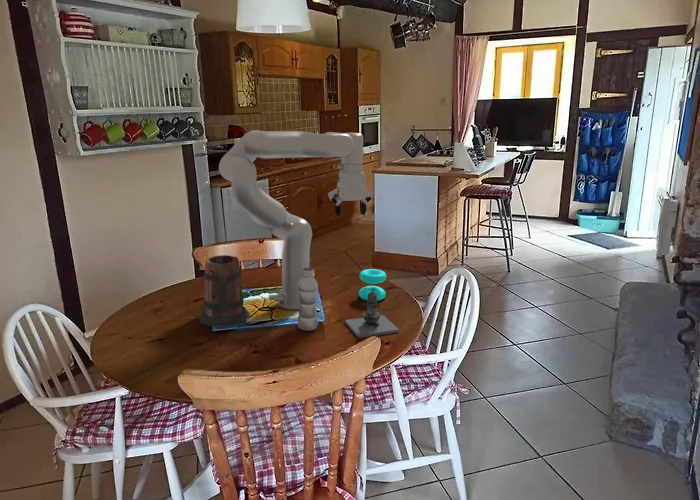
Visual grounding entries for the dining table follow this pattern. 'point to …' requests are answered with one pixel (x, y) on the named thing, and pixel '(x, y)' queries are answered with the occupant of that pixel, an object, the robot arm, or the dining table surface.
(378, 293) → the donuts
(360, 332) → the mat
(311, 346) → the dining table surface
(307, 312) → the plastic bottle
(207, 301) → the tankard
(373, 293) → the stone chess piece
